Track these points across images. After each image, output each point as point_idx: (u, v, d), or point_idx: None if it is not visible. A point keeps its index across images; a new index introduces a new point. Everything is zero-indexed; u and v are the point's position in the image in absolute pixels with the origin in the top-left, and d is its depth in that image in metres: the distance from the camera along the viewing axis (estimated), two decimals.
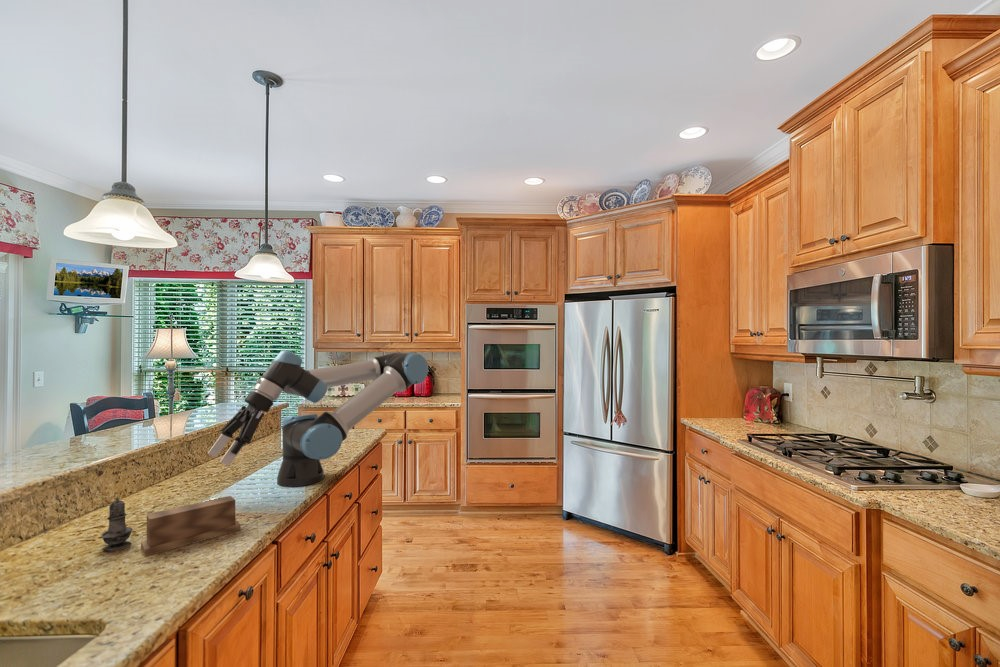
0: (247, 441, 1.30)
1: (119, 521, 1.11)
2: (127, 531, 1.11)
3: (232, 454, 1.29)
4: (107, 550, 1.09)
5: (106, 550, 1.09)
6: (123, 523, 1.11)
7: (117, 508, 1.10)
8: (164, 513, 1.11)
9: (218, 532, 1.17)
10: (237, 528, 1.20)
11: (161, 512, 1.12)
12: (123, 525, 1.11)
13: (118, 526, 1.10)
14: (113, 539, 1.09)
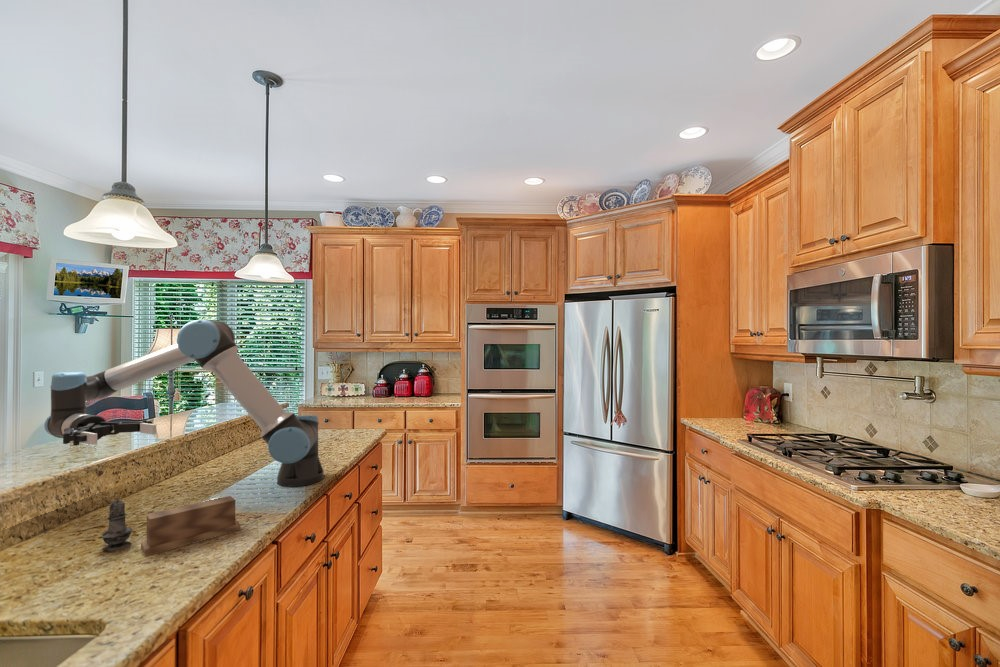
0: (63, 436, 1.17)
1: (119, 521, 1.11)
2: (127, 531, 1.11)
3: (87, 437, 1.18)
4: (107, 550, 1.09)
5: (106, 550, 1.09)
6: (123, 523, 1.11)
7: (117, 508, 1.10)
8: (164, 513, 1.11)
9: (218, 532, 1.17)
10: (237, 528, 1.20)
11: (161, 512, 1.12)
12: (123, 525, 1.11)
13: (118, 526, 1.10)
14: (113, 539, 1.09)
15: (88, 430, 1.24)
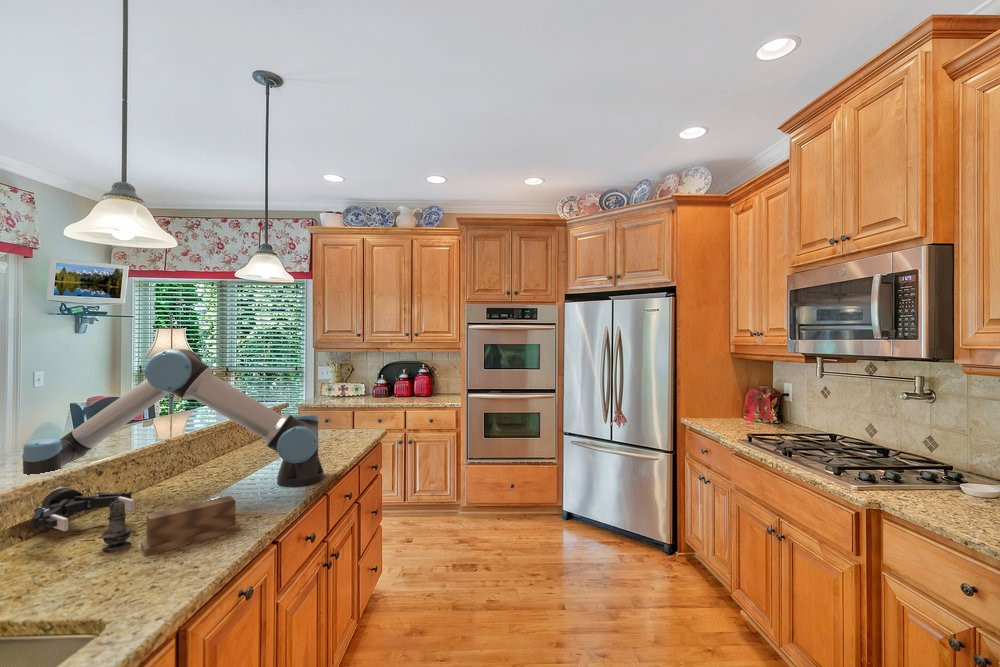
0: (31, 522, 1.08)
1: (119, 521, 1.11)
2: (127, 531, 1.11)
3: (57, 522, 1.09)
4: (107, 550, 1.09)
5: (106, 550, 1.09)
6: (123, 523, 1.11)
7: (117, 508, 1.10)
8: (164, 513, 1.11)
9: (218, 532, 1.17)
10: (237, 528, 1.20)
11: (161, 512, 1.12)
12: (123, 525, 1.11)
13: (118, 526, 1.10)
14: (113, 539, 1.09)
15: (60, 509, 1.15)
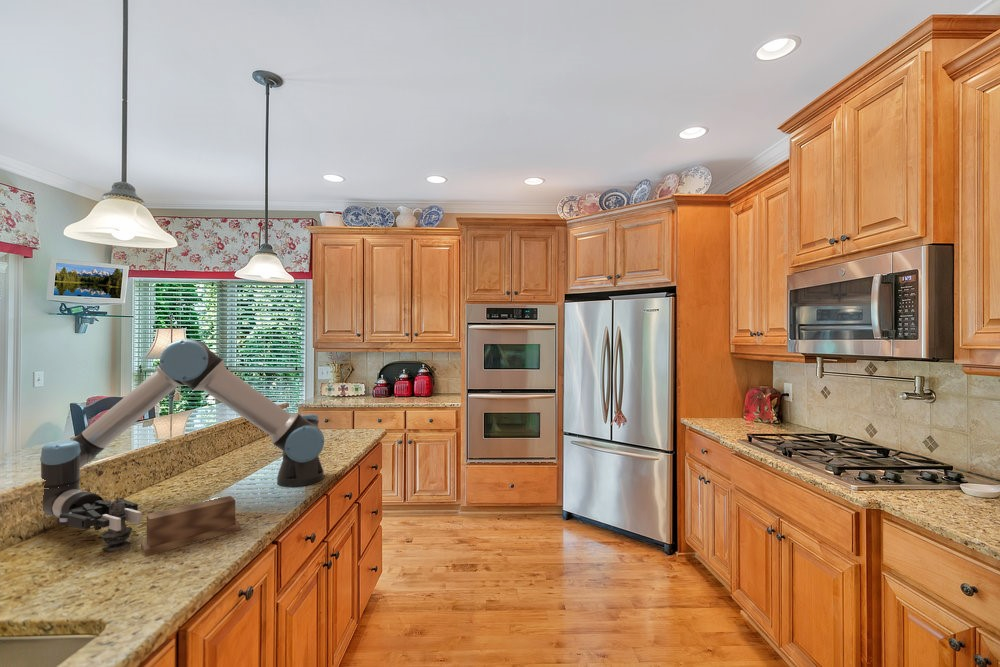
0: (84, 522, 1.07)
1: None
2: (127, 531, 1.11)
3: (110, 522, 1.08)
4: (107, 550, 1.09)
5: (106, 550, 1.09)
6: (123, 523, 1.11)
7: (116, 508, 1.10)
8: (164, 513, 1.11)
9: (218, 532, 1.17)
10: (237, 528, 1.20)
11: (161, 512, 1.12)
12: (123, 525, 1.11)
13: None
14: (113, 539, 1.09)
15: None
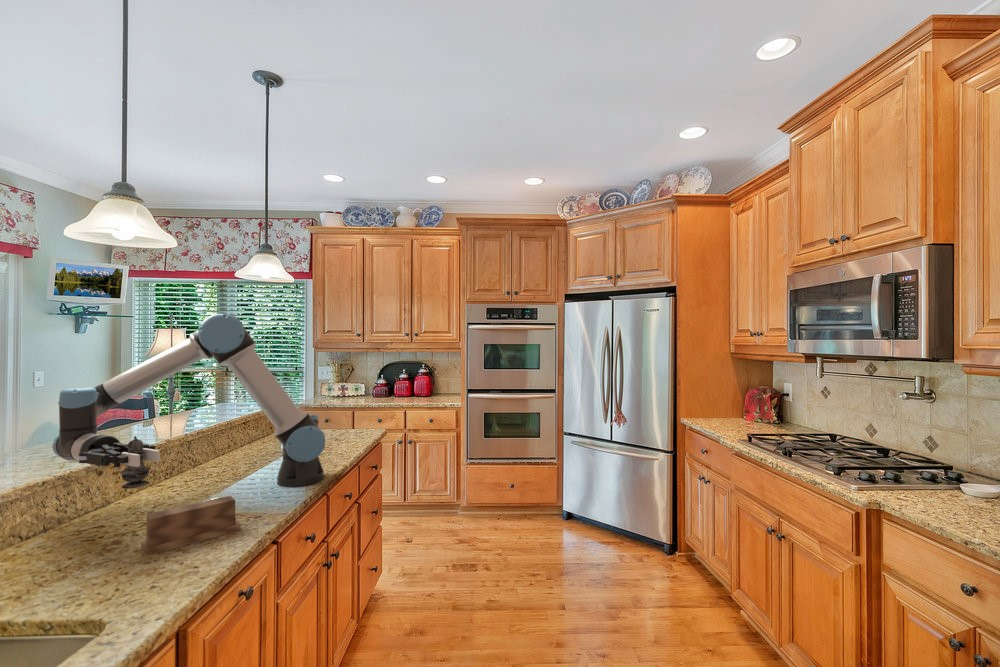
0: (103, 458, 1.08)
1: None
2: (145, 469, 1.12)
3: (129, 459, 1.09)
4: (126, 487, 1.10)
5: (125, 487, 1.10)
6: (141, 461, 1.12)
7: (135, 446, 1.11)
8: (164, 513, 1.11)
9: (218, 532, 1.17)
10: (237, 528, 1.20)
11: (161, 512, 1.12)
12: (141, 463, 1.12)
13: None
14: (132, 476, 1.10)
15: None
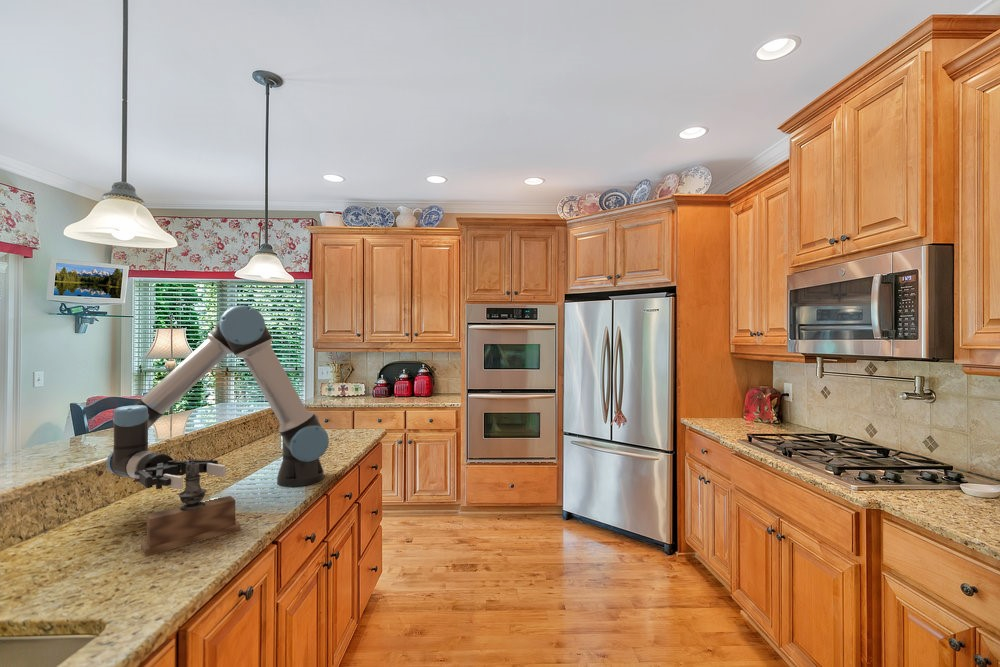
0: (146, 480, 1.09)
1: (195, 482, 1.15)
2: (202, 491, 1.16)
3: (171, 481, 1.10)
4: (185, 509, 1.13)
5: (184, 509, 1.13)
6: (198, 484, 1.16)
7: (193, 469, 1.15)
8: (164, 513, 1.11)
9: (218, 532, 1.17)
10: (237, 528, 1.20)
11: (161, 512, 1.12)
12: (198, 486, 1.16)
13: (194, 486, 1.15)
14: (190, 498, 1.13)
15: (162, 471, 1.16)
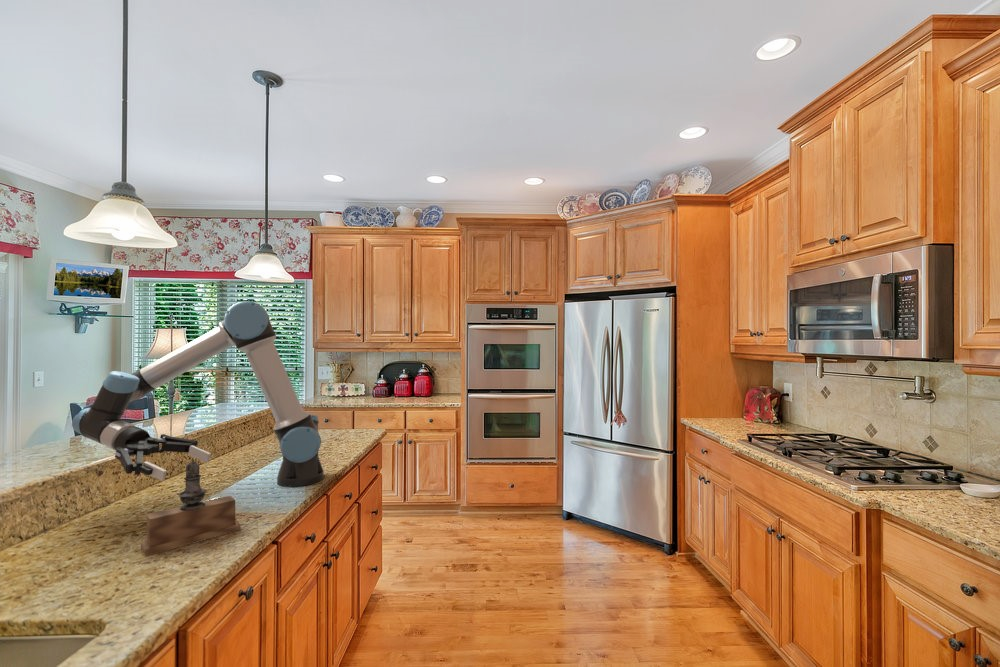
0: (128, 467, 1.16)
1: (195, 482, 1.15)
2: (202, 491, 1.16)
3: (153, 471, 1.18)
4: (185, 509, 1.13)
5: (184, 509, 1.13)
6: (198, 484, 1.16)
7: (193, 469, 1.15)
8: (164, 513, 1.11)
9: (218, 532, 1.17)
10: (237, 528, 1.20)
11: (161, 512, 1.12)
12: (198, 486, 1.16)
13: (194, 486, 1.15)
14: (190, 498, 1.13)
15: (142, 453, 1.23)
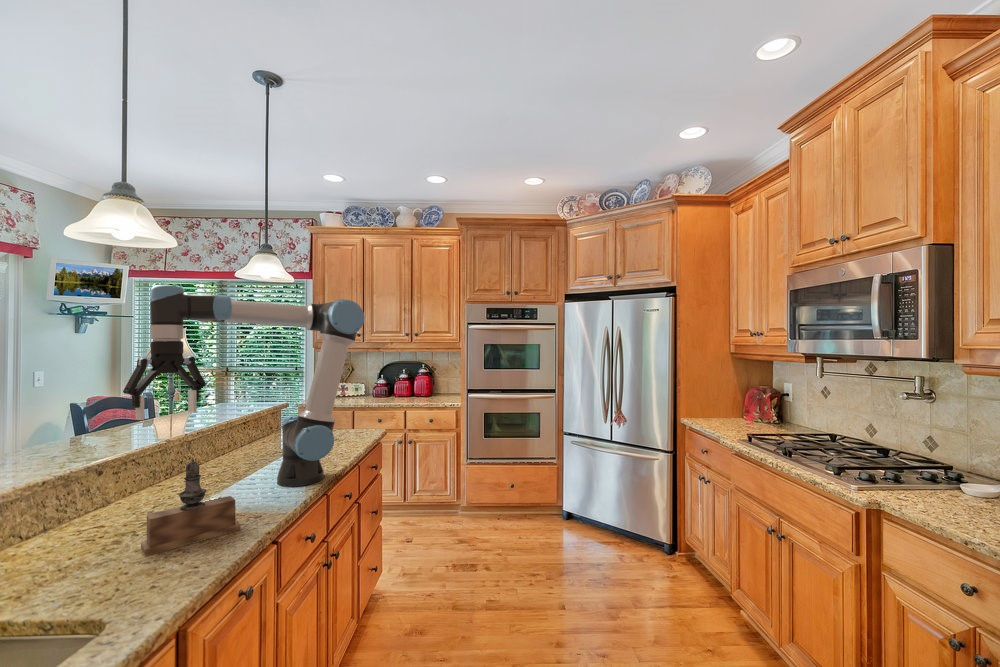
0: (126, 392, 1.20)
1: (195, 482, 1.15)
2: (202, 491, 1.16)
3: (138, 408, 1.23)
4: (185, 509, 1.13)
5: (184, 509, 1.13)
6: (198, 484, 1.16)
7: (193, 469, 1.15)
8: (164, 513, 1.11)
9: (218, 532, 1.17)
10: (237, 528, 1.20)
11: (161, 512, 1.12)
12: (198, 486, 1.16)
13: (194, 486, 1.15)
14: (190, 498, 1.13)
15: None
